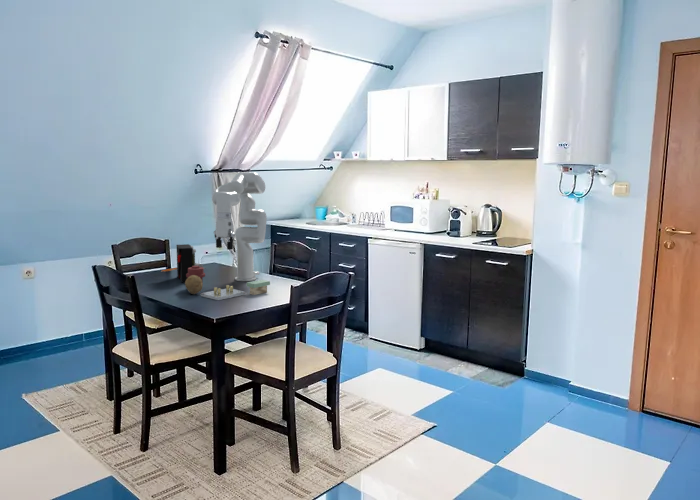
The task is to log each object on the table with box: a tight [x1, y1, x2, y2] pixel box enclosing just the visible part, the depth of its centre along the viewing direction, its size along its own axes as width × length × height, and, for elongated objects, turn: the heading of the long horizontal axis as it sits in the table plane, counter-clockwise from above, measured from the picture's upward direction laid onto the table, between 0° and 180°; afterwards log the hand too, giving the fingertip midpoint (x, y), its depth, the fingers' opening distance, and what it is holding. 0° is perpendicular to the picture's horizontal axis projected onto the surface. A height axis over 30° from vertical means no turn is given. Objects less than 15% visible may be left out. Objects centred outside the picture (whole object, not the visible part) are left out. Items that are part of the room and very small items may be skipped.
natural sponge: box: [184, 275, 204, 295], centre depth 285 cm, size 9×9×10 cm
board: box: [246, 279, 271, 288], centre depth 290 cm, size 11×6×2 cm, turn 141°
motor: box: [162, 262, 206, 272], centre depth 350 cm, size 23×22×5 cm
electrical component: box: [175, 243, 197, 284], centre depth 322 cm, size 18×10×20 cm, turn 22°
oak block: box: [249, 285, 268, 296], centre depth 290 cm, size 9×4×4 cm, turn 141°
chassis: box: [200, 284, 247, 301], centre depth 283 cm, size 18×14×4 cm
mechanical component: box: [186, 266, 206, 286], centre depth 299 cm, size 12×10×10 cm
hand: (224, 248), depth 287 cm, fingers open, 9 cm apart
